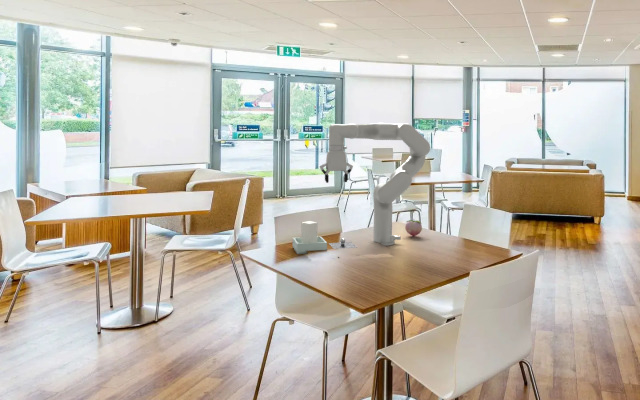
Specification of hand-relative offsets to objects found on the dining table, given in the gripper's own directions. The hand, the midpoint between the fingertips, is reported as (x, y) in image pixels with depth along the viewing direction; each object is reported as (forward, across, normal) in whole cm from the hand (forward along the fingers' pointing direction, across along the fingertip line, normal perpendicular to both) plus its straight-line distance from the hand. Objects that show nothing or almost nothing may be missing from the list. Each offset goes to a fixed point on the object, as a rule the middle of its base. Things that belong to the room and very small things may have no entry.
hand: (336, 182), depth 257 cm
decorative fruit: (+32, -47, -10) cm, 58 cm away
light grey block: (+32, +16, +10) cm, 37 cm away
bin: (+32, +16, +10) cm, 37 cm away
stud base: (+32, -1, +10) cm, 34 cm away
